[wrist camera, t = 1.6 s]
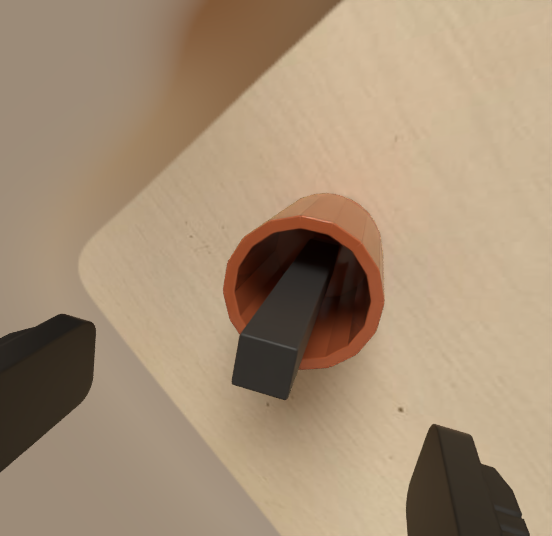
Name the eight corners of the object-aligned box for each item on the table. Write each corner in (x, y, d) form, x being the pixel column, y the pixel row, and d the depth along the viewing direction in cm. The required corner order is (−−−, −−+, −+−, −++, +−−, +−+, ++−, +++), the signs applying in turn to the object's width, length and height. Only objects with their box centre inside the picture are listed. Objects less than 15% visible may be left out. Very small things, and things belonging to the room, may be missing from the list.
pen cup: (281, 182, 24) (236, 200, 16) (395, 206, 23) (403, 238, 15) (262, 286, 26) (213, 345, 18) (366, 313, 25) (360, 388, 17)
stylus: (312, 234, 23) (239, 333, 11) (341, 241, 23) (298, 349, 11) (306, 262, 24) (229, 385, 12) (334, 268, 24) (286, 402, 11)
